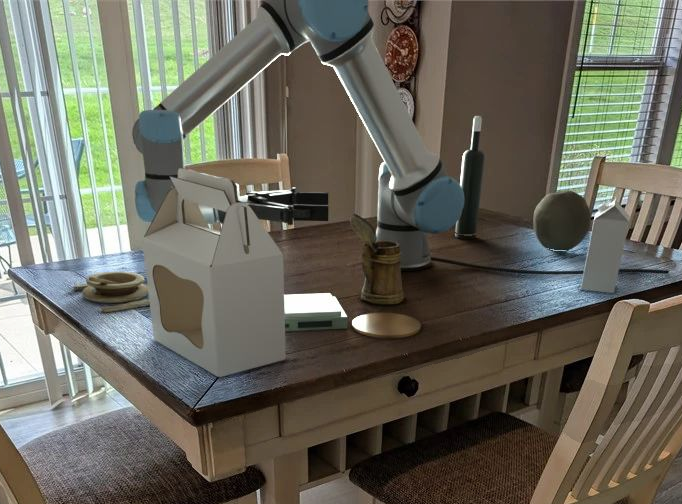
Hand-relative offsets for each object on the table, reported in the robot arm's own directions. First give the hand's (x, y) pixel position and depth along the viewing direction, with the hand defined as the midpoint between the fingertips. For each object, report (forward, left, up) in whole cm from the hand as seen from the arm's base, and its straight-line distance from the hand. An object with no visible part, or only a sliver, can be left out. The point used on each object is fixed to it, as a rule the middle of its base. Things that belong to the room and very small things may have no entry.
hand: (328, 206), depth 141 cm
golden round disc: (-8, +18, -18) cm, 27 cm away
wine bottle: (-49, -53, -19) cm, 74 cm away
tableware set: (+35, -12, -19) cm, 42 cm away
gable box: (+24, +26, -19) cm, 40 cm away
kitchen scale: (+6, +11, -18) cm, 23 cm away
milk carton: (-62, -1, -19) cm, 64 cm away
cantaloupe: (-67, -33, -19) cm, 77 cm away
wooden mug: (-10, +2, -19) cm, 21 cm away
